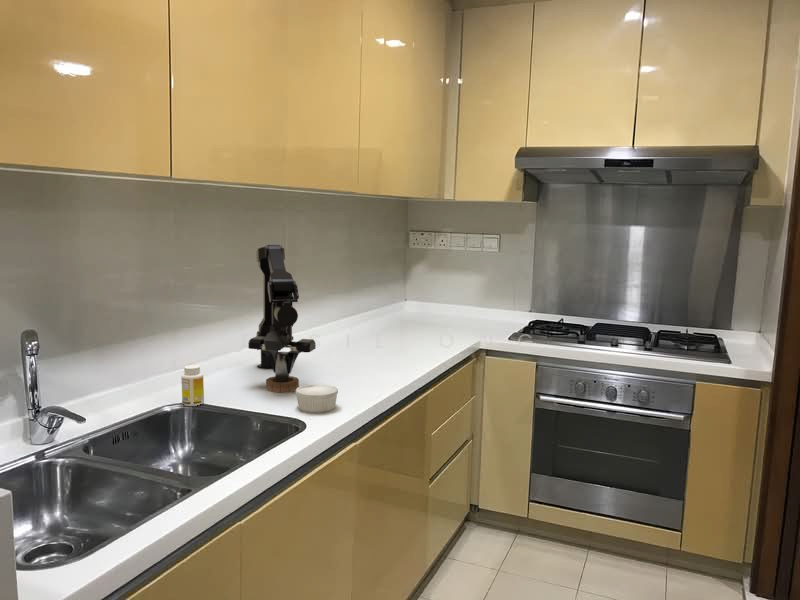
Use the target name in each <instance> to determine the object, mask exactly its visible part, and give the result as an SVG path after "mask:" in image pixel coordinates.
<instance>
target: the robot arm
mask: <svg viewBox="0 0 800 600" xmlns="http://www.w3.org/2000/svg"><path fill="white" fill-rule="evenodd" d="M255 252H256V255H255V256H256V258H255V259H256V262H257V263H258V265H257V266H258V267H259V270H260V271H261V273H262V274H263V275H262V276H263V279H262V282H263V283H262V284H263V291H262V292H263V293H262V294H263V302H262V303H263V318H262V319H261V321H260V323H259V324H258V331H257V332H256V336H253V337H252V338H250V339H249V341H248V344H247V345H248V347H247V348H248V349H250V350H257V351H259V350H260V364H258V365H256V368H261V369H272V370H273V374H275V353H276V352H280V351H281V350H282V349H284V348H289V351H286V352H287V354H288V374H289V375H290V374H291V372H292V371H293V368H294V365H295V363H296V361H297V358H298V356H299V355H300V354H301V353H310V352H313V351H314V350H316V346H317V344H316V342H315V340H314V339H311V338H310V339H308V338H302V339H300V340H298V341H293V340H294V336H293V327H294V325H295V324H296V323H297V321H298V318H299V314H298V311H297V309H296V308H295V307H294V306H293V303H298V300H299V297H300V293H299V288H298V284H297V283H296V282H297V281H296V280H294V279H293V278H294V277H293V276H292V274H291V273H290V272H288V271H287V268H286V266H285V265H286V264H285V260H286V256H285V255H286V254H285V252H286V251H285V248H284V247H283V245H280V244H266V245H264V246H263V247H262V246H261V247H259V248H257V250H256V251H255Z"/></svg>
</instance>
